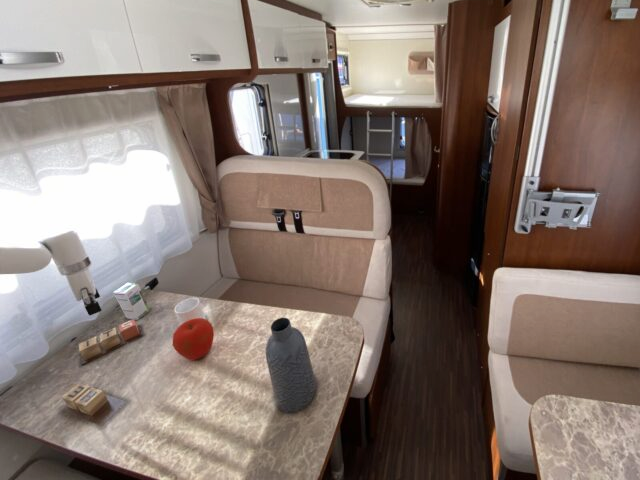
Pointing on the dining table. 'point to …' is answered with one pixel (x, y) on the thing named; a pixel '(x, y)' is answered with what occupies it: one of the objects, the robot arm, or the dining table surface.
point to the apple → (193, 338)
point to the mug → (189, 310)
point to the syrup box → (131, 301)
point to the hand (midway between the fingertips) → (94, 305)
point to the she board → (100, 412)
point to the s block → (129, 329)
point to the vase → (289, 367)
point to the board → (103, 344)
